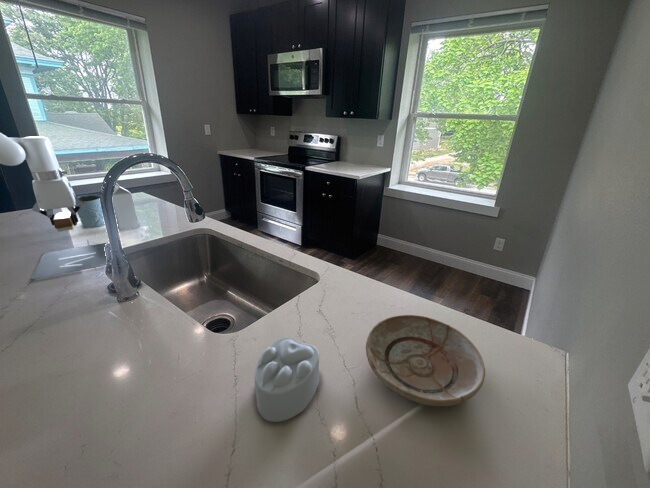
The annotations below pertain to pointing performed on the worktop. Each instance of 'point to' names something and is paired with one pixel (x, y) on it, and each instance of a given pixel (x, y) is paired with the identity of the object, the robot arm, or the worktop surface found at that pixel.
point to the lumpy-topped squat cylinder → (286, 379)
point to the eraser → (63, 221)
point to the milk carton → (124, 208)
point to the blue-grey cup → (90, 211)
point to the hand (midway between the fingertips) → (66, 225)
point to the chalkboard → (70, 260)
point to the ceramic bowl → (425, 360)
